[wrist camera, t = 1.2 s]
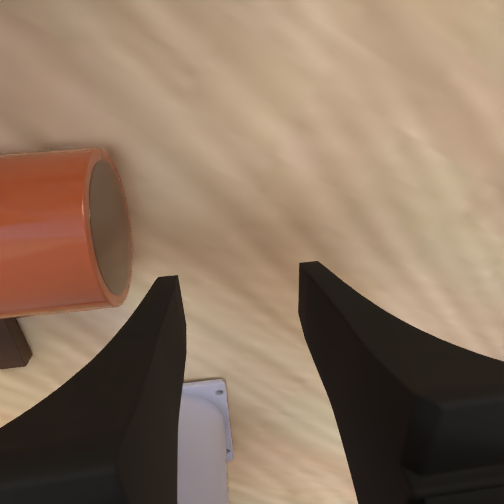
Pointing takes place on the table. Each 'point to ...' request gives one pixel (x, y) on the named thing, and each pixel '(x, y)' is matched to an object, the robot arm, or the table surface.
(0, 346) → the board
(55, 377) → the table surface
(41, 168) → the cup
